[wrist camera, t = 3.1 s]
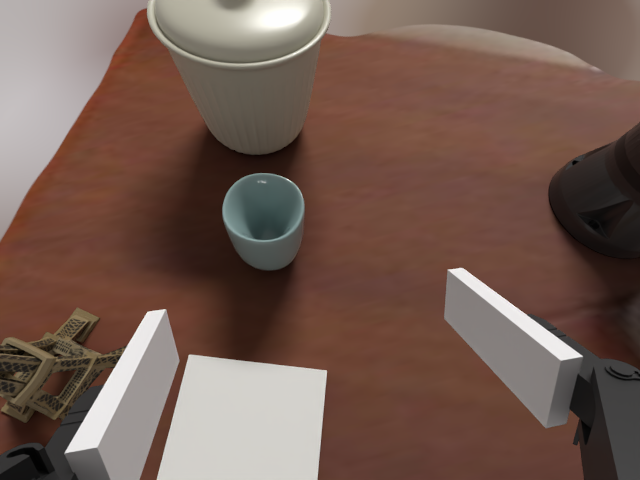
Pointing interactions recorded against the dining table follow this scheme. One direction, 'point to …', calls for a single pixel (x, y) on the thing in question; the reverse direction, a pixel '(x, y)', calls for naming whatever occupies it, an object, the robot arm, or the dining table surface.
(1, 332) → the dining table surface
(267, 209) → the cup
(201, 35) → the canister
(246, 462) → the mat
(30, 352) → the eiffel tower
